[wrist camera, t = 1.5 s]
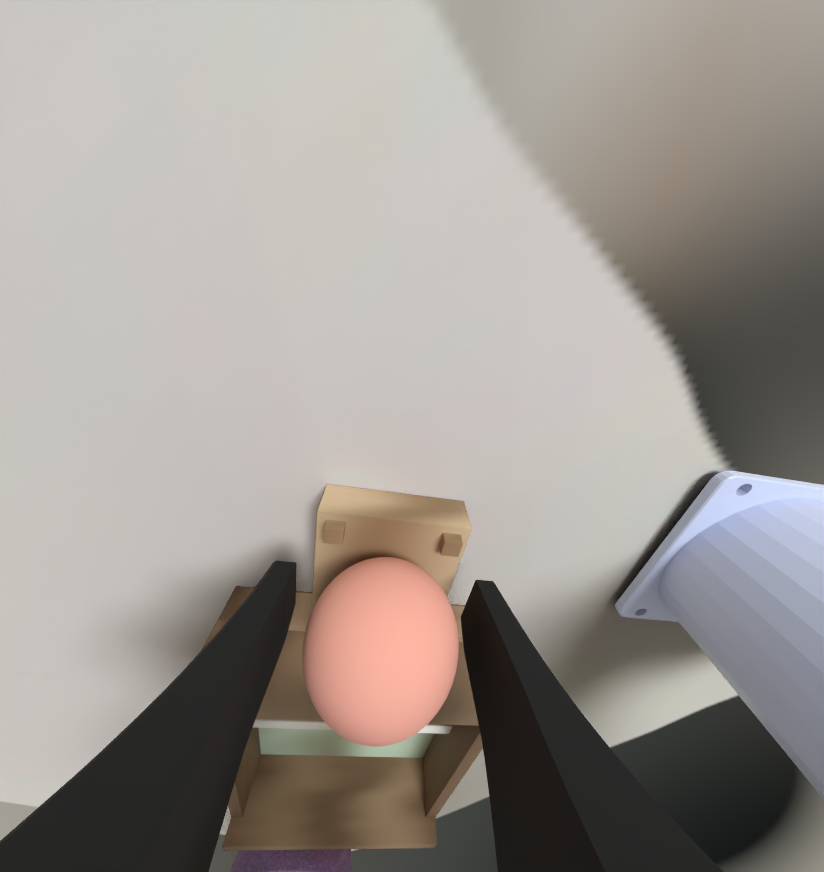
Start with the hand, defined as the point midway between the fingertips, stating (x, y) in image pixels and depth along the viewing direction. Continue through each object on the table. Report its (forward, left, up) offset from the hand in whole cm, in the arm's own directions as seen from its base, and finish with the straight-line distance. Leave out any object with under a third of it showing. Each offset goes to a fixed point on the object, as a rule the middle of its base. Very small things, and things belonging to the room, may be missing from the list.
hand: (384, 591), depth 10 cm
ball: (0, 0, +2) cm, 2 cm away
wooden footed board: (0, 0, -2) cm, 2 cm away
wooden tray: (0, +12, -5) cm, 13 cm away
